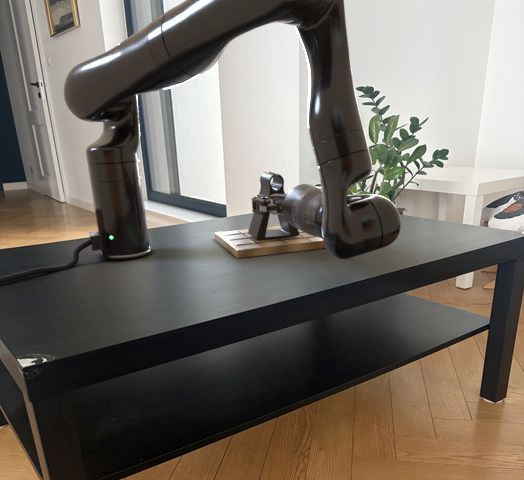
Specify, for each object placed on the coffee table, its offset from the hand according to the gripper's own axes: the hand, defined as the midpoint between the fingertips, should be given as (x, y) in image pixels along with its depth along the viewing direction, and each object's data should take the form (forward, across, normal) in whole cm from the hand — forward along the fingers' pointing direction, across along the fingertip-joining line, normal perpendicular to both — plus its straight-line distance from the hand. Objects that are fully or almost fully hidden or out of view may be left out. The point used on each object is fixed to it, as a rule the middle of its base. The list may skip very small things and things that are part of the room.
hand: (280, 198), depth 103 cm
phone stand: (+5, 0, +8) cm, 9 cm away
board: (+5, 0, +10) cm, 11 cm away
